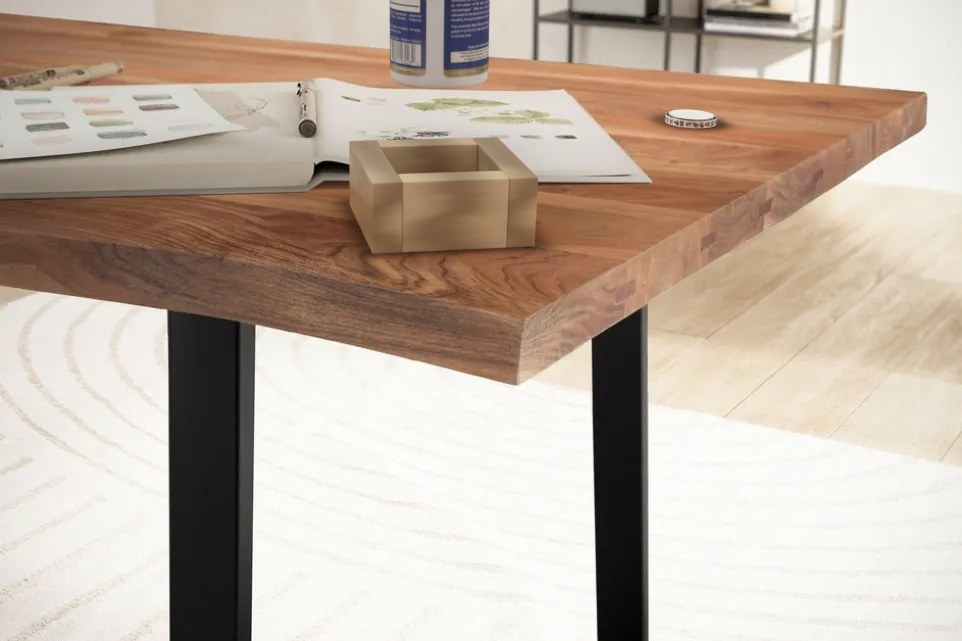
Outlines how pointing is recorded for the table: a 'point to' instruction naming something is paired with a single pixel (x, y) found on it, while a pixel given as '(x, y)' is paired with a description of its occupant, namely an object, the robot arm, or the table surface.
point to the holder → (441, 194)
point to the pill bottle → (439, 43)
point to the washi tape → (690, 118)
